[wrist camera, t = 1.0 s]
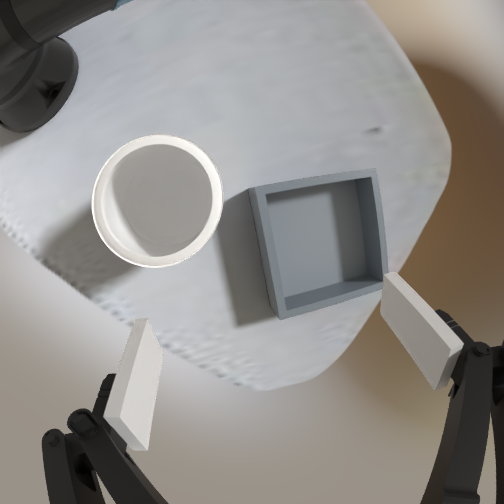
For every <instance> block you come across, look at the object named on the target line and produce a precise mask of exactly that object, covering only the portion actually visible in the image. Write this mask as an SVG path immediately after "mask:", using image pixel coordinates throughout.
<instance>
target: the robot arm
mask: <svg viewBox="0 0 504 504" xmlns="http://www.w3.org/2000/svg"><path fill="white" fill-rule="evenodd" d="M130 1H133V0H0V125H1V126H3V127H4V128H6V129H9V130H12V131H15V132H28V131H31V130H34V129H36V128H38V127H40V126H42V125H43V124H45V123H46V122H47V121H49V120H50V119H51V118H52V117H53V116H54V115H55V114H56V113H57V112H58V111H59V110H60V109H61V107H62V106H63V105H64V103H65V102H66V100H67V99H68V97H69V95H70V94H71V92H72V90H73V87H74V85H75V82H76V79H77V75H78V58H77V55H76V53H75V51H74V49H73V48H72V47H71V46H70V45H69V43H68V42H67V41H65V40H64V39H62V38H60V37H57V36H59V35H61V34H62V33H64V32H66V31H68V30H70V29H72V28H73V27H75V26H77V25H79V24H81V23H83V22H85V21H87V20H89V19H91V18H93V17H95V16H97V15H100V14H102V13H104V12H106V11H109V10H110V11H113V10H116V9H117V8H118V7H120V6H121V5H123V4H126V3H128V2H130ZM380 314H381V315H382V317H383V318H384V320H385V321H386V322H387V324H388V325H389V326H390V328H391V329H392V330H393V332H394V333H395V335H396V336H397V337H398V339H399V340H400V342H401V343H402V344H403V346H404V347H405V349H406V350H407V351H408V353H409V354H410V355H411V357H412V358H413V360H414V361H415V363H416V364H417V366H418V367H419V368H420V370H421V371H422V373H423V374H424V376H425V377H426V379H427V380H428V382H429V383H430V385H431V386H432V388H433V389H434V391H436V390H438V389H440V388H443V387H445V386H447V384H448V382H449V380H450V378H452V379H453V381H454V384H453V386H452V388H451V390H450V392H449V394H448V396H450V395H451V398H450V403H449V409H448V413H447V418H446V423H445V427H444V431H443V435H442V439H441V443H440V447H439V450H438V454H437V457H436V460H435V464H434V467H433V470H432V473H431V476H430V479H429V482H428V484H427V487H426V490H425V493H424V495H423V498H422V500H421V503H420V504H479V503H480V496H479V495H478V494H477V488H478V484H479V480H480V476H481V471H482V466H483V461H484V456H485V450H486V445H487V438H488V430H489V422H490V412H491V418H492V425H493V432H494V444H495V455H496V456H495V457H496V484H497V485H496V504H504V341H503V343H502V346H496V347H489V346H488V345H487V344H485V343H483V342H474V341H473V340H472V339H471V338H470V337H469V336H468V334H467V333H466V332H465V331H464V330H463V329H462V328H461V327H460V326H458V324H457V323H456V322H455V321H454V320H453V319H452V318H451V317H450V315H449V314H447V313H446V312H444V311H442V310H440V309H439V310H436V311H434V310H433V309H432V308H431V307H430V306H429V305H428V304H427V303H426V302H425V301H424V300H423V299H422V298H421V297H420V296H419V295H418V294H417V293H416V292H415V291H414V290H413V289H412V288H411V287H410V286H409V285H408V284H407V283H406V282H405V281H404V280H403V279H402V278H401V277H400V276H399V275H398V274H397V273H396V272H391V273H387V274H384V275H383V288H382V299H381V310H380ZM163 356H164V354H163V352H162V350H161V348H160V345H159V343H158V341H157V338H156V336H155V334H154V331H153V329H152V327H151V324H150V322H149V319H148V318H145V319H137V320H135V322H134V325H133V328H132V330H131V333H130V336H129V339H128V341H127V344H126V347H125V350H124V353H123V356H122V359H121V362H120V364H119V367H118V370H117V373H116V374H108V375H107V377H106V378H105V379H104V380H103V382H102V385H101V387H100V391H99V393H98V398H97V399H96V402H95V405H94V408H93V411H92V413H91V412H90V411H89V410H88V409H78V410H76V411H74V412H73V413H72V414H71V415H70V416H69V418H68V421H67V425H68V428H69V429H70V430H71V431H72V432H73V433H69V434H65V435H64V434H63V433H62V432H61V431H60V430H58V429H51V430H49V431H47V432H46V433H45V434H44V436H43V438H42V452H43V461H44V469H45V478H46V484H47V490H48V496H49V501H50V504H105V501H104V498H103V495H102V492H101V488H100V485H99V482H98V478H97V475H96V472H97V474H98V476H99V477H100V479H101V481H102V482H103V484H104V486H105V487H106V489H107V490H108V492H109V494H110V495H111V497H112V498H113V500H114V501H115V503H116V504H168V502H167V501H166V500H165V499H164V498H163V497H162V496H161V495H160V493H159V492H158V491H157V490H156V489H155V488H154V486H153V485H152V484H151V483H150V481H149V480H148V479H147V478H146V477H145V475H144V474H143V473H142V472H141V470H140V469H139V468H138V466H137V465H136V464H135V462H134V461H133V459H132V458H131V457H130V455H129V454H128V453H127V452H126V447H127V445H128V446H129V447H130V448H131V449H132V450H138V451H139V450H140V451H148V445H149V438H150V431H151V424H152V418H153V411H154V406H155V399H156V394H157V388H158V382H159V377H160V372H161V366H162V361H163Z"/></svg>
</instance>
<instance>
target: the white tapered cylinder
mask: <svg viewBox="0 0 504 504" xmlns="http://www.w3.org/2000/svg"><path fill="white" fill-rule="evenodd" d="M223 201H224V193H223V185H222V181H221V177H220V175H219V172H218V170H217V168H216V166H215V164H214V163H213V161H212V160H211V158H210V157H209V156H208V155H207V154H206V153H205V152H204V151H203V150H202V149H201V148H200V147H198V146H197V145H195V144H194V143H192V142H190V141H188V140H186V139H184V138H181V137H178V136H174V135H167V134H154V135H148V136H144V137H140V138H137V139H135V140H133V141H131V142H129V143H127V144H125V145H124V146H122V147H121V148H119V149H118V150H117V151H116V152H115V153H114V154H113V155H112V156H111V157H110V158H109V159H108V160H107V161H106V163H105V164H104V166H103V167H102V169H101V171H100V172H99V174H98V177H97V179H96V182H95V185H94V189H93V194H92V214H93V219H94V223H95V226H96V229H97V231H98V233H99V235H100V237H101V239H102V240H103V242H104V243H105V244H106V246H107V247H108V248H109V249H110V250H111V251H112V252H113V253H115V254H116V255H117V256H118V257H120V258H121V259H123V260H125V261H127V262H129V263H132V264H134V265H138V266H142V267H149V268H159V267H167V266H171V265H175V264H177V263H180V262H182V261H184V260H186V259H188V258H190V257H191V256H193V255H194V254H195V253H197V252H198V251H199V250H200V249H201V248H202V247H203V246H204V245H205V244H206V243H207V242H208V241H209V239H210V238H211V236H212V235H213V233H214V231H215V230H216V228H217V225H218V223H219V221H220V218H221V214H222V210H223Z"/></svg>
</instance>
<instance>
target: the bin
mask: <svg viewBox="0 0 504 504" xmlns="http://www.w3.org/2000/svg"><path fill="white" fill-rule="evenodd" d="M248 193H249V198H250V203H251V208H252V213H253V219H254V224H255V229H256V234H257V239H258V244H259V249H260V254H261V260H262V265H263V270H264V275H265V280H266V286H267V291H268V296H269V301H270V306H271V308H272V309H273V311H274V312H275V314H276V315H277V317H278V318H279V320H283V319H286V318H290V317H293V316H297V315H300V314H304V313H307V312H311V311H314V310H318V309H321V308H324V307H328V306H331V305H334V304H337V303H341V302H344V301H347V300H350V299H353V298H356V297H359V296H363V295H366V294H369V293H372V292H375V291H377V290H380V289H382V288H383V275H384V274H387V273H389V272H388V257H387V246H386V235H385V226H384V217H383V210H382V202H381V195H380V189H379V182H378V176H377V170H376V168H373V169H365V170H358V171H350V172H343V173H336V174H329V175H322V176H316V177H309V178H303V179H297V180H291V181H285V182H280V183H274V184H268V185H263V186H258V187H253V188H249V189H248Z"/></svg>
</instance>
